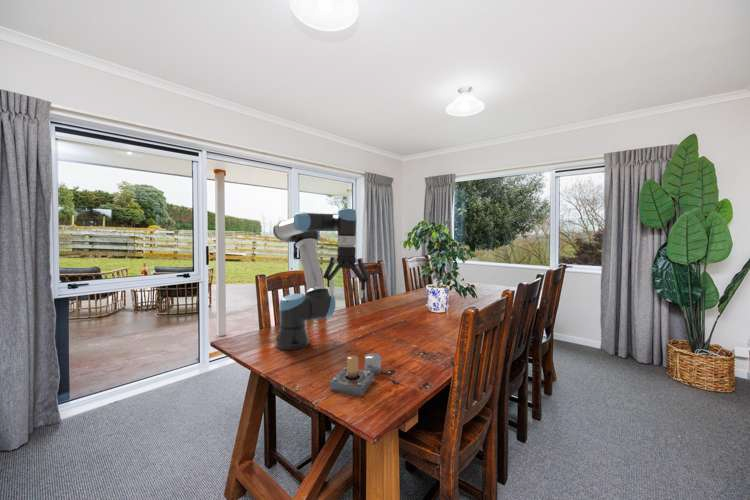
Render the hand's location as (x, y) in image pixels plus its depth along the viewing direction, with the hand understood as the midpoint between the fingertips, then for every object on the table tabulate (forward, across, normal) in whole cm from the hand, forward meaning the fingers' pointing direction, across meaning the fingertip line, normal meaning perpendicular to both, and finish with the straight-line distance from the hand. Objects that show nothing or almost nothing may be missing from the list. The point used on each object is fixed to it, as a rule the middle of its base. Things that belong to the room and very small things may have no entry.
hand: (345, 296), depth 135 cm
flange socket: (+27, +12, -20) cm, 35 cm away
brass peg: (+27, +12, -20) cm, 35 cm away
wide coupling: (+27, +15, -7) cm, 31 cm away
